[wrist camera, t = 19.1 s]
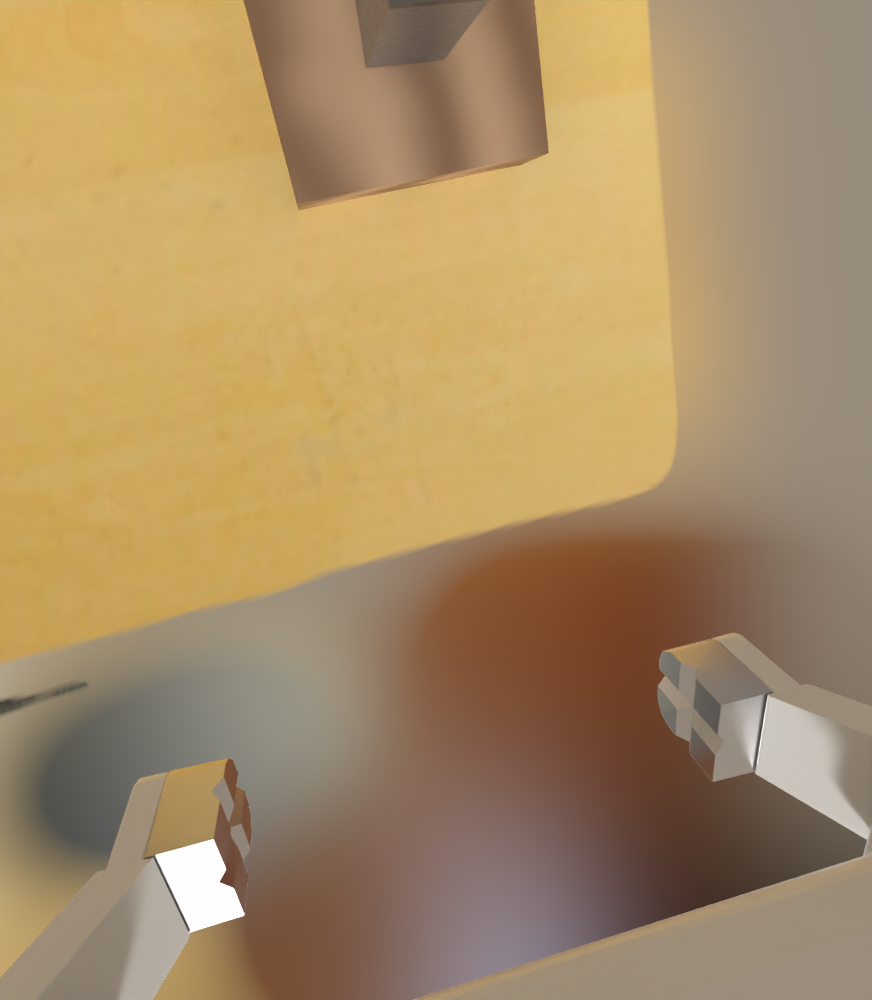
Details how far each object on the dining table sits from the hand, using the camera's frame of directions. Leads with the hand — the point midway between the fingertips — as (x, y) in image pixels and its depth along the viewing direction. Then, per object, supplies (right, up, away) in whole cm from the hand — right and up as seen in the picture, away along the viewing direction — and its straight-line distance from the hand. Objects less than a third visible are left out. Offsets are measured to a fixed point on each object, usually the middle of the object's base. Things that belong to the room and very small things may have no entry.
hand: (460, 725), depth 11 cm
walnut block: (-3, +30, +22) cm, 37 cm away
